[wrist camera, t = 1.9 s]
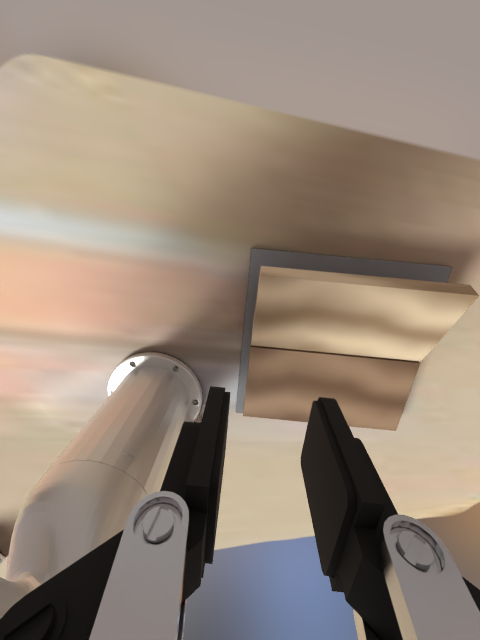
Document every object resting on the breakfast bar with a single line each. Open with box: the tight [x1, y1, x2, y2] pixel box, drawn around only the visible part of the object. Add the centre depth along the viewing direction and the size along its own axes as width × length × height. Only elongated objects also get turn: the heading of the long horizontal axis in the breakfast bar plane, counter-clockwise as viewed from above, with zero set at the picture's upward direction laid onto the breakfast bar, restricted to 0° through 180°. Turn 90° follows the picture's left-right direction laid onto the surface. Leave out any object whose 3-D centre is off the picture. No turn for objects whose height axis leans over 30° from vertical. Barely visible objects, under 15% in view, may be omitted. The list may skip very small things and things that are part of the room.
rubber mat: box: [236, 248, 452, 413], centre depth 34 cm, size 22×22×1 cm
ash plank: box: [251, 266, 479, 361], centre depth 29 cm, size 10×20×2 cm, turn 85°
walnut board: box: [243, 343, 420, 431], centre depth 35 cm, size 10×20×2 cm, turn 85°
